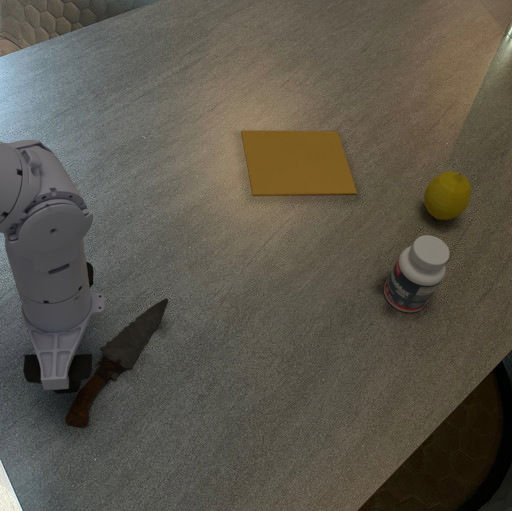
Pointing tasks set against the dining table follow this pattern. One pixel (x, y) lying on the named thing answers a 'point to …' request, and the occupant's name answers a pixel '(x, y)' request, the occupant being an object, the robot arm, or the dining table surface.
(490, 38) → the dining table surface
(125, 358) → the knife
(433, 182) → the fruit
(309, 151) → the cloth
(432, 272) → the pill bottle
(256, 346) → the dining table surface
